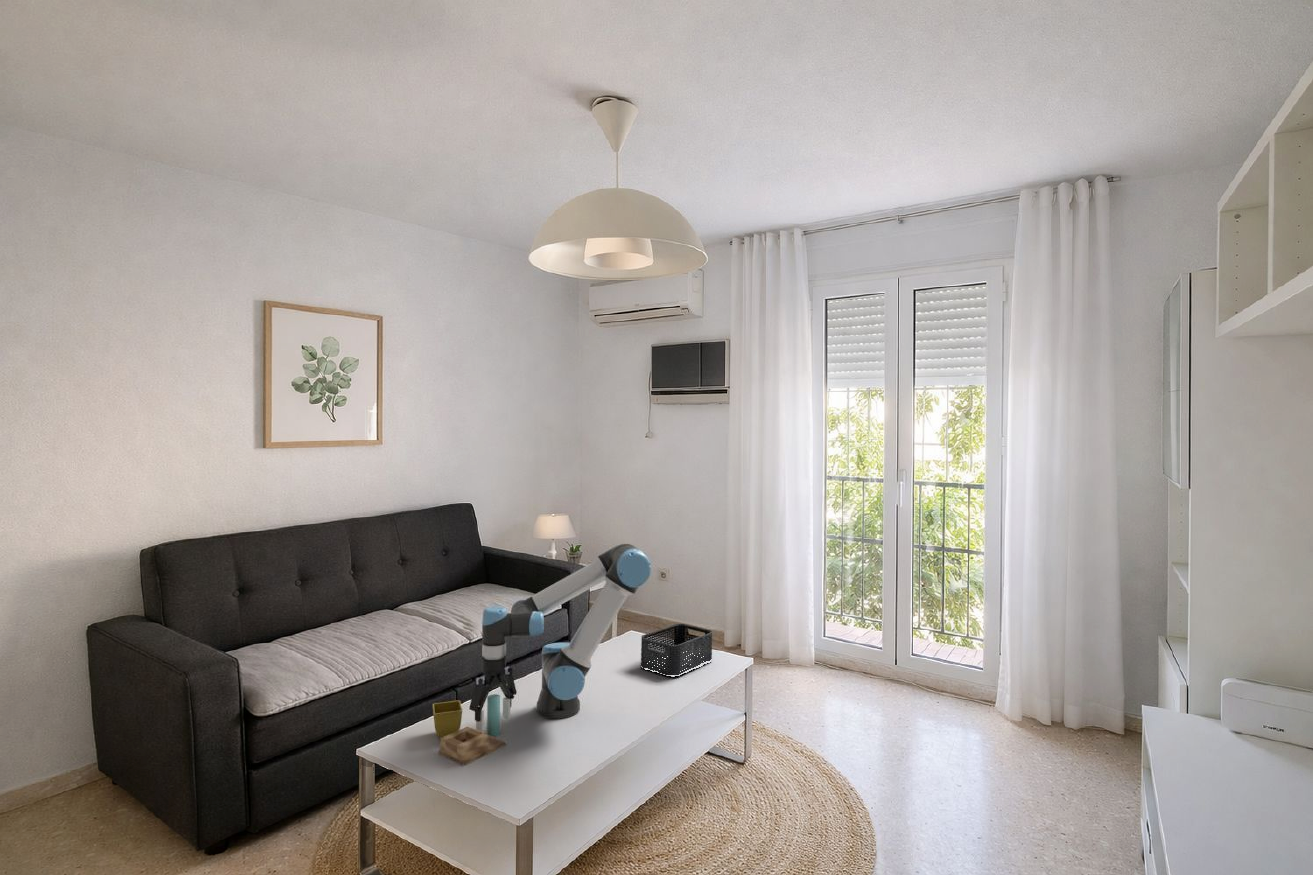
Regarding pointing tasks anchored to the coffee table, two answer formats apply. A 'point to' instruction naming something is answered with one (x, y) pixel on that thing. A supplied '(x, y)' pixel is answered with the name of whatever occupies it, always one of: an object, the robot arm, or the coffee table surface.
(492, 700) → the peg
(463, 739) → the socket board
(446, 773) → the coffee table surface
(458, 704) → the flower pot
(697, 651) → the storage bin
